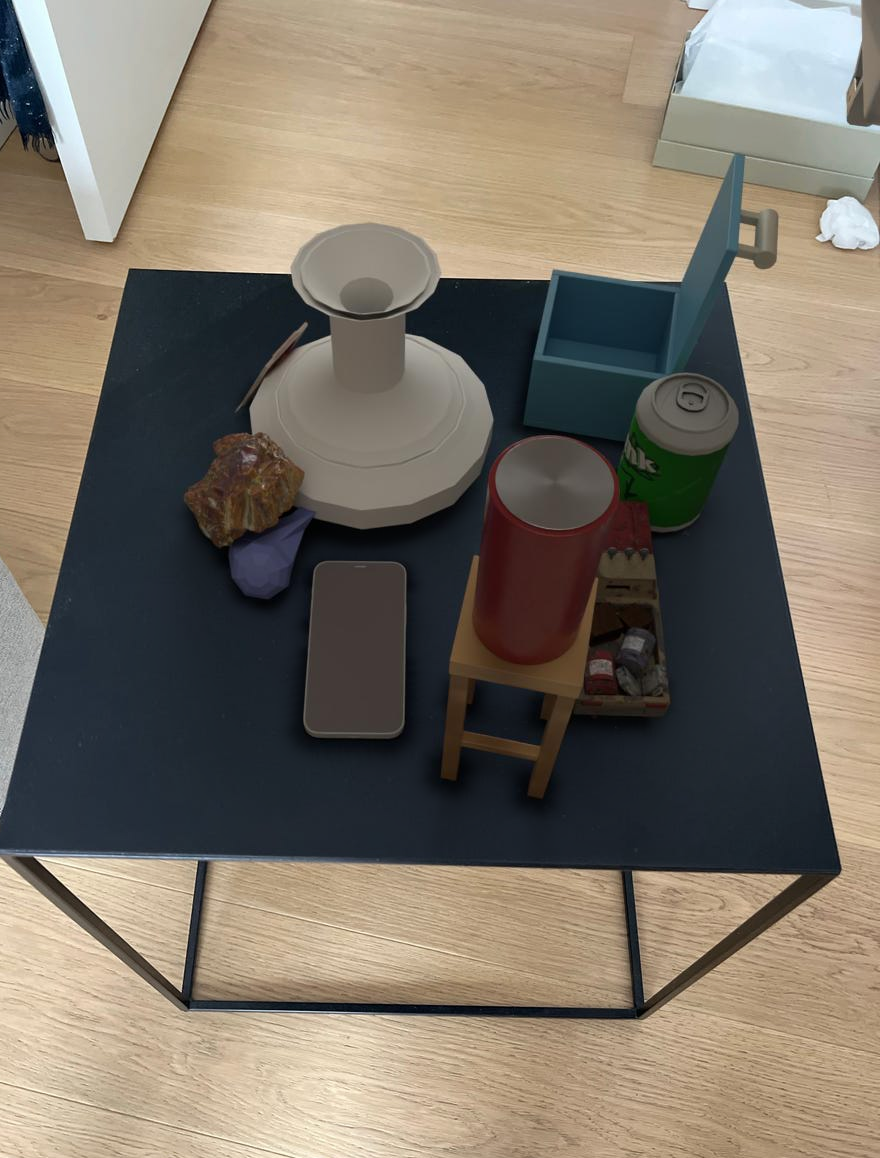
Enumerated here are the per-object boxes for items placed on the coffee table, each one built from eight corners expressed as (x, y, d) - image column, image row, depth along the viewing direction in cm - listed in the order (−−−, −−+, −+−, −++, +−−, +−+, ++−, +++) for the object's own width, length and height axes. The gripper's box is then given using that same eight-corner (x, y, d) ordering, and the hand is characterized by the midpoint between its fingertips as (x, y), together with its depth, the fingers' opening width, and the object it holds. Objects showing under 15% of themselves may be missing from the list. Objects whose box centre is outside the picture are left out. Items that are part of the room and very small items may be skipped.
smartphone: (301, 733, 71) (313, 560, 78) (302, 738, 72) (314, 567, 79) (404, 734, 71) (406, 561, 78) (404, 739, 72) (406, 568, 79)
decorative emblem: (314, 325, 89) (247, 410, 92) (311, 322, 89) (243, 407, 92) (302, 324, 79) (227, 420, 82) (299, 321, 79) (223, 417, 82)
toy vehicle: (638, 534, 81) (659, 472, 75) (660, 732, 72) (686, 682, 65) (553, 531, 81) (567, 470, 75) (564, 729, 72) (581, 679, 65)
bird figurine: (201, 578, 74) (218, 557, 80) (268, 618, 75) (280, 595, 81) (254, 489, 72) (267, 475, 78) (322, 532, 73) (331, 515, 79)
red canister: (586, 584, 58) (627, 444, 48) (572, 675, 55) (613, 545, 45) (482, 565, 59) (500, 423, 48) (463, 653, 56) (478, 521, 45)
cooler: (522, 425, 87) (533, 359, 81) (541, 336, 93) (552, 268, 86) (652, 446, 86) (673, 381, 79) (663, 355, 92) (684, 288, 85)
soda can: (707, 482, 84) (751, 378, 74) (691, 550, 80) (734, 450, 70) (620, 460, 85) (651, 354, 75) (600, 526, 82) (630, 424, 71)
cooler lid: (726, 249, 68) (789, 263, 68) (735, 152, 74) (792, 164, 74) (670, 376, 79) (723, 388, 79) (681, 282, 85) (731, 294, 85)
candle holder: (486, 556, 80) (509, 381, 63) (240, 544, 80) (199, 366, 64) (490, 378, 90) (511, 186, 73) (272, 368, 91) (243, 175, 74)
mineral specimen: (228, 411, 81) (262, 481, 85) (149, 459, 79) (187, 529, 82) (298, 439, 72) (332, 516, 76) (211, 494, 69) (250, 570, 73)
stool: (558, 707, 73) (598, 577, 58) (543, 800, 69) (582, 686, 55) (458, 687, 74) (473, 554, 59) (438, 778, 70) (449, 660, 55)
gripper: (1046, -34, 47) (914, 220, 59) (1008, -210, 57) (902, 37, 69) (909, -50, 48) (806, 204, 60) (896, -221, 58) (810, 25, 70)
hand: (857, 113), depth 64 cm, fingers closed
